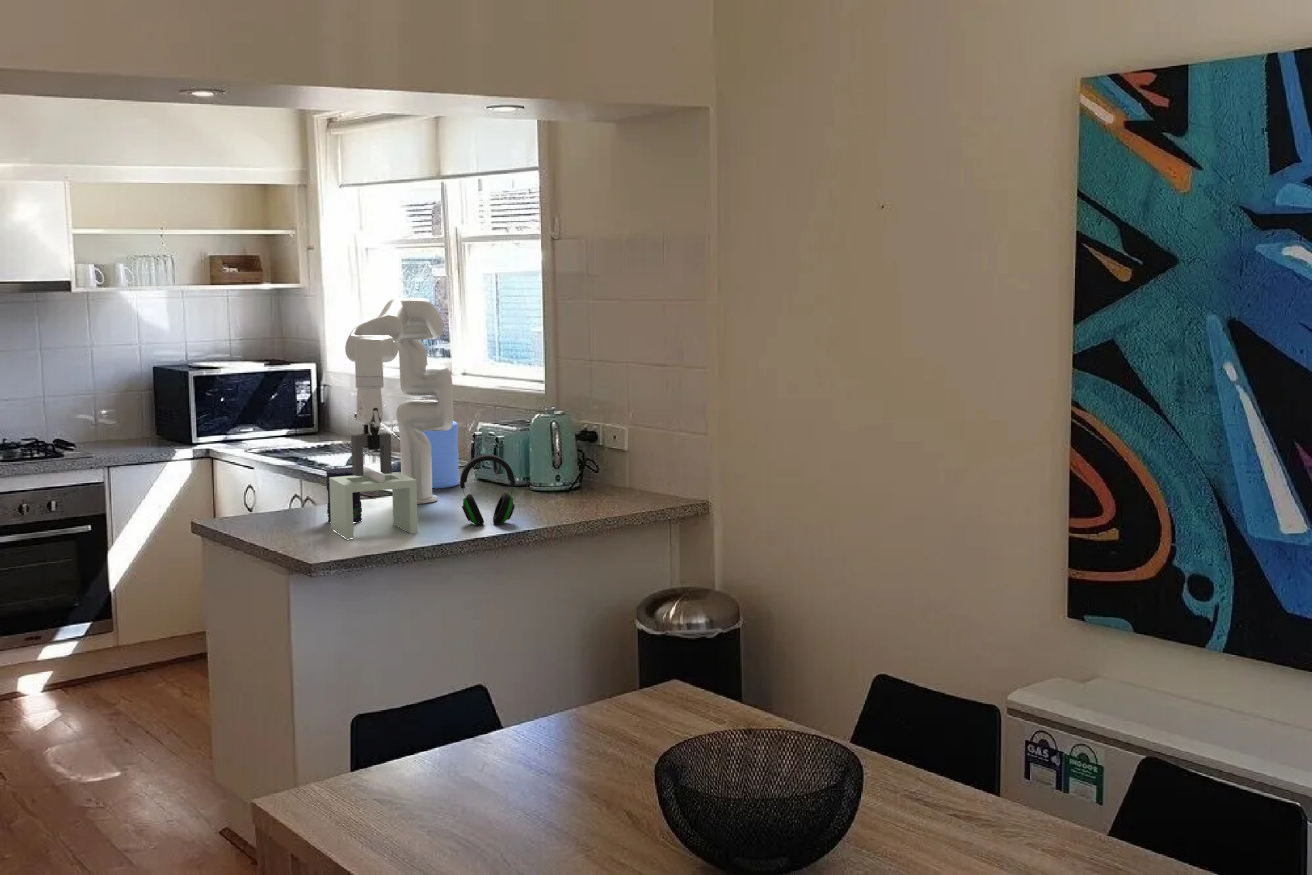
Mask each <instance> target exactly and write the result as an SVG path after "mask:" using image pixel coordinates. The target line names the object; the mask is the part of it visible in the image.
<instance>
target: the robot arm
mask: <svg viewBox="0 0 1312 875" xmlns="http://www.w3.org/2000/svg"><path fill="white" fill-rule="evenodd" d="M443 331H444V321H443V318H442V315H441V314H440V312H439V311H438V309H437V308H436V306H435V305H434V304H433V303H432V302H431V301H430V300H429V299H426V298H424V297H423V298H422V297H421V298H419V297H415V298H414V297H410V298H409V297H407V298H406V297H403V298H402V297H400V298H399V297H398V298H393V299H390V300H389V301H388V302H387V303H386V304H385V305H384V308H382V310H381V312H380V313H379V315H378V317H376V318H375V317H374V318H373V319H370V320H368V321H366V322H363V323H361V324H359V325H357V326H356V327H354V328H353V329H352V331H351V332H350V334H349V336H348V337H347V340H346V342H345V347H344V348H345V355H346V357H347V359H348V360H349V361H350V362H352V363H354V366H355V370H354V372H355V373H354V374H355V388H356V389H357V391H356V421H357V422H358V423H359V424H361V425H362V434H369V435H368V446H367V447H363V448H365V449H368V451H374V450H380V436H379V434H380V433H381V432H380V428H381V424H382V423H383V416H384V415H383V414H384V413H383V412H384V411H383V398H382V389H383V388H384V363H390V362H392V361H394V360H395V359H396V357H397V355H398V360H399V361H398V362H399V382H400V384H399V385H400V389H401V392H402V394H404V395H405V396H408V397H409V396H410V397H435V398H436V400H426V399H425V400H423V399H422V400H421V399H420V400H419V399H418V400H417V399H416V400H415V399H414V400H413V399H411V400H405V401H403V402H401V403H400V404H398V406H397V408H396V412H395V413H396V414H395V416H396V421H397V427H398V433H399V443H400V444H399V446H400V449H399V450H400V473H402V474H404V475H406V476H409V477H411V478H413V479H415V480H416V487H417V505H419V504H420V505H421V504H430V503H433V502H436V501H438V495H435V494H433V489H432V457H431V443H430V441H429V439H428V438H427V437H426V435H425V434H424V433H423V431H447V430H449V429H450V428H451V427H452V425H453V421H454V393H453V392H454V390H453V388H454V387H453V377H452V374H451V371H450V370H449V368H448V367H447V366H445V365H430V364H428V350H427V348H426V345H425V344H424V342H423V341H422V340H425V341H426V340H437V339H440V338H441V336H442V334H443Z"/></svg>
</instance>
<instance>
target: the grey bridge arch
mask: <svg viewBox="0 0 1312 875" xmlns="http://www.w3.org/2000/svg"><path fill="white" fill-rule="evenodd" d="M368 435H369V434H363V433H361V434H360V433H359V434H351V435H350V436H351V439H350V440H351V468H352V474H353V475H355V476H364V473H363V466H364V450H363V448H364V447H367V446H368ZM379 436H380V449H379V463H380V466H379V469H380V473H384V474H391V473H392V472H393V470H392V468H393V467H392V466H393V465H392V434H391V433H389V432H380V434H379Z"/></svg>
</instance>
